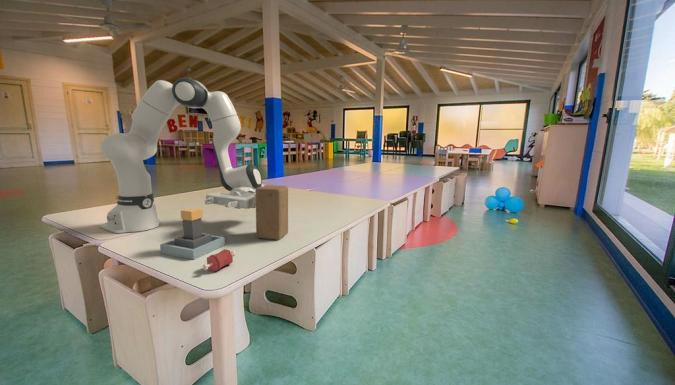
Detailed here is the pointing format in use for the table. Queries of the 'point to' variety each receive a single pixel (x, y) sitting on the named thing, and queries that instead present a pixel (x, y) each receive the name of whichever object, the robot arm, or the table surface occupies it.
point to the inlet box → (192, 246)
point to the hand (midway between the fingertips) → (216, 203)
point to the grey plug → (192, 223)
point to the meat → (219, 260)
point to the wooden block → (271, 211)
